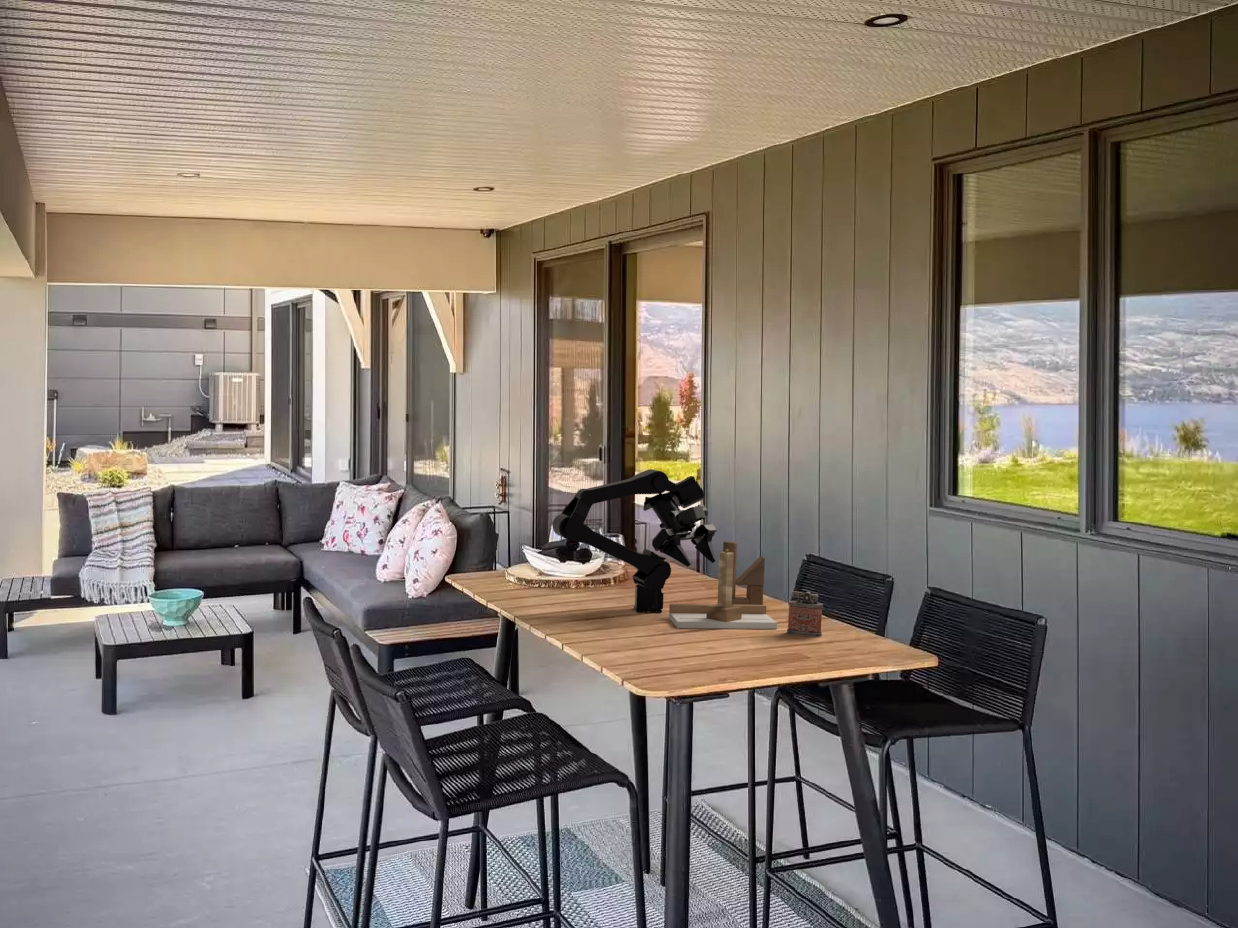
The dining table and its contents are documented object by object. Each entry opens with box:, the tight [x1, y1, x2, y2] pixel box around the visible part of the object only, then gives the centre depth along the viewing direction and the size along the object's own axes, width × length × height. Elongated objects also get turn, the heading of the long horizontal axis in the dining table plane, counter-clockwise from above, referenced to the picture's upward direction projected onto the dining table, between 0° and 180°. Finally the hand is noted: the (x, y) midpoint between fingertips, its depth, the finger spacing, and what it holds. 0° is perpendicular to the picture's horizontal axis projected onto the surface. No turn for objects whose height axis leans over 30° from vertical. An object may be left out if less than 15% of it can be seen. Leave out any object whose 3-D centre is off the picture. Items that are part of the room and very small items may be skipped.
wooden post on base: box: [706, 549, 742, 622], centre depth 282 cm, size 6×6×17 cm
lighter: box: [786, 590, 824, 638], centre depth 275 cm, size 8×3×10 cm, turn 71°
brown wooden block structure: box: [722, 540, 766, 605], centre depth 300 cm, size 4×11×18 cm, turn 100°
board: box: [668, 603, 778, 630], centre depth 285 cm, size 24×12×4 cm, turn 97°
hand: (701, 563), depth 289 cm, fingers open, 9 cm apart
